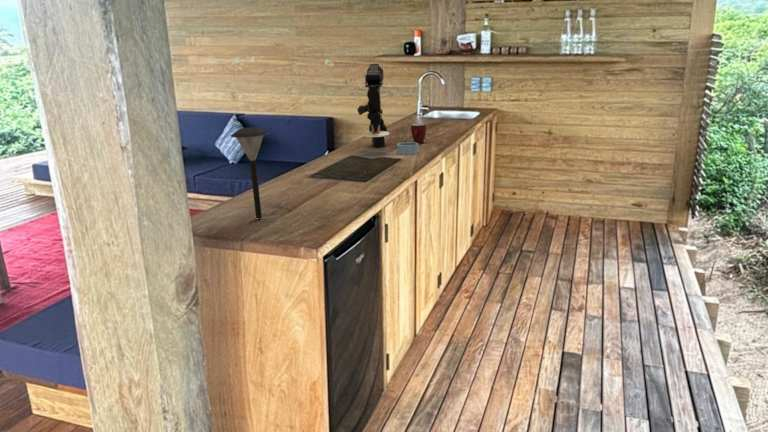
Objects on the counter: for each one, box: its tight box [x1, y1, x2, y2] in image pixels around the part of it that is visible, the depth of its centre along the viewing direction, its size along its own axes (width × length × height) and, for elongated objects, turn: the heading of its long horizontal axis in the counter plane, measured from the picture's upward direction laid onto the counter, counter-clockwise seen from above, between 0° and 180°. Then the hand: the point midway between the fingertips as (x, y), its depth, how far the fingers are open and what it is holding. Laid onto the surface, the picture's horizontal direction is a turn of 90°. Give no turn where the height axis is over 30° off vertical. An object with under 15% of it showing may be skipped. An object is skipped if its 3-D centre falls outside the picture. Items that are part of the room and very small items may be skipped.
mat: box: [352, 149, 397, 160], centre depth 296 cm, size 16×16×1 cm
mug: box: [410, 123, 427, 145], centre depth 320 cm, size 11×8×10 cm
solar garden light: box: [230, 126, 270, 219], centre depth 194 cm, size 12×12×30 cm
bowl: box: [396, 141, 420, 156], centre depth 294 cm, size 10×10×5 cm
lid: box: [362, 125, 390, 138], centre depth 292 cm, size 13×13×5 cm
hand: (375, 131), depth 292 cm, fingers closed on lid, 4 cm apart
